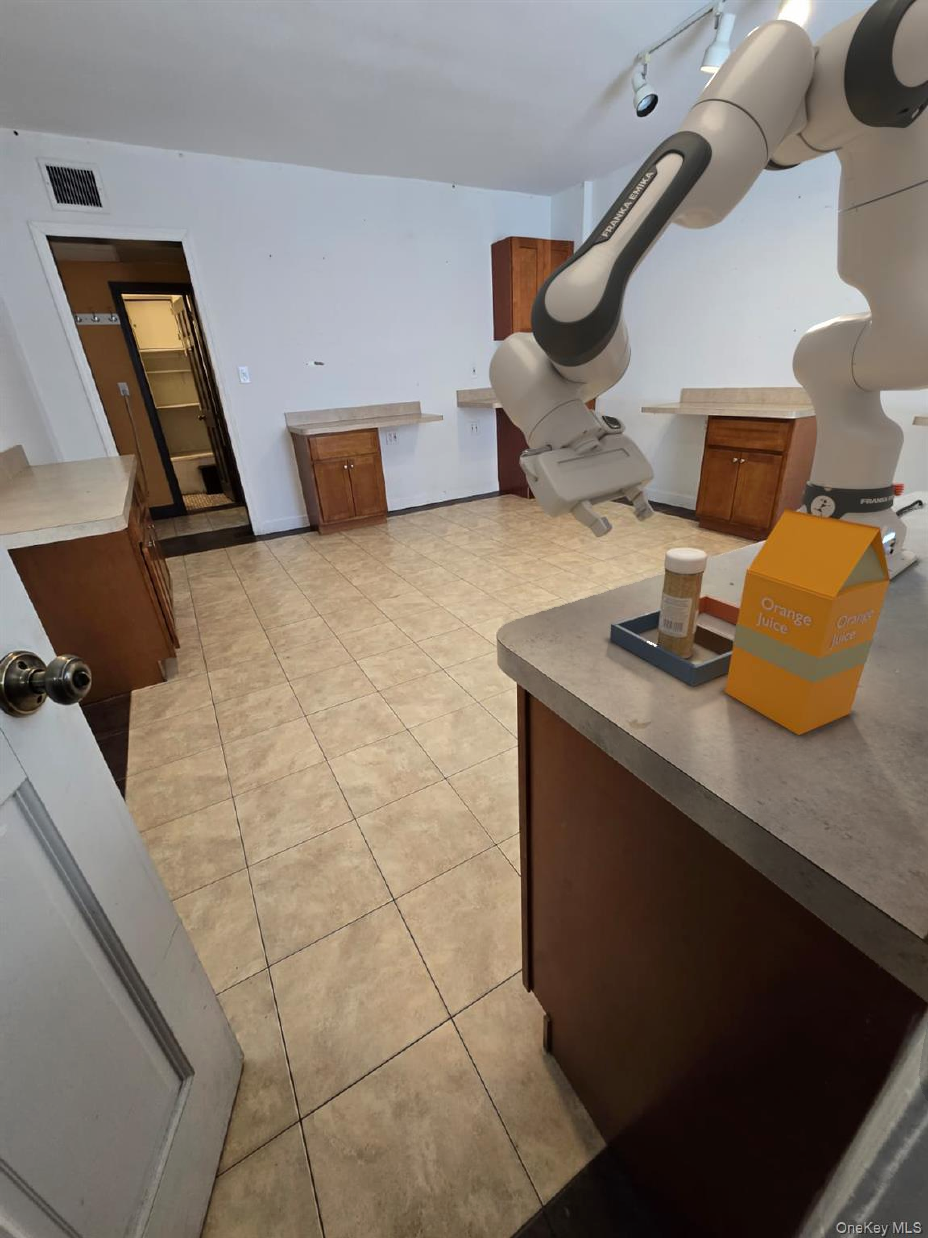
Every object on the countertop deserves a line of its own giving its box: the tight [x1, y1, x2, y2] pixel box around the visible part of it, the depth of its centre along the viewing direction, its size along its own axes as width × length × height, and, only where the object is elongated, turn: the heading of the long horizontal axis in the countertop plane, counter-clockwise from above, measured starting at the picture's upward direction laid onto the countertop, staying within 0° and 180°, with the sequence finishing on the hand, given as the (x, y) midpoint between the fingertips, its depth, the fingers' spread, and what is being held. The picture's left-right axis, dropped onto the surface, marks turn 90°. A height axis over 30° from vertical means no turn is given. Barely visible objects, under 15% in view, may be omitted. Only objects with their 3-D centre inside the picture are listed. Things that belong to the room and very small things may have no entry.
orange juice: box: [724, 508, 891, 736], centre depth 50 cm, size 8×9×20 cm
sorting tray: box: [609, 594, 740, 688], centre depth 67 cm, size 18×14×2 cm
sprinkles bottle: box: [655, 547, 708, 660], centre depth 63 cm, size 5×5×13 cm
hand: (627, 525), depth 65 cm, fingers open, 8 cm apart
